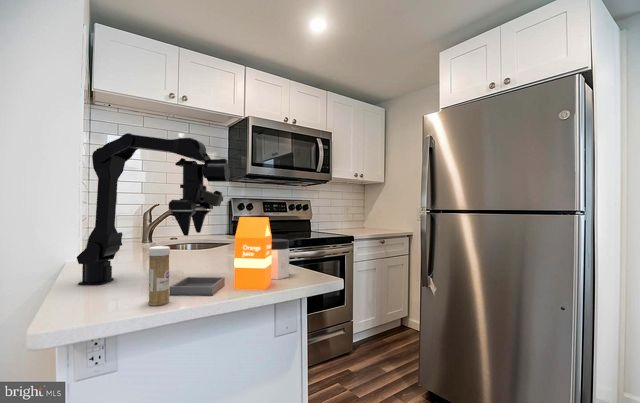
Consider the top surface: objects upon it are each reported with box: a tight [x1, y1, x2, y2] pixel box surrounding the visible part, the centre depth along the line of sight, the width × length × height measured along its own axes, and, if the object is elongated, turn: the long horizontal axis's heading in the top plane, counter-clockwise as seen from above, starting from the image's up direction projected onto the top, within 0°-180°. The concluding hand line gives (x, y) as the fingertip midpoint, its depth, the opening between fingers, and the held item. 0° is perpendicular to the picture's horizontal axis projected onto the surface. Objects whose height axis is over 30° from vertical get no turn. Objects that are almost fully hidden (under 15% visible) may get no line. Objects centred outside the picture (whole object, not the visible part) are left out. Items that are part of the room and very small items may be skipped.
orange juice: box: [233, 216, 273, 291], centre depth 93 cm, size 8×9×20 cm
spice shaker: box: [147, 245, 171, 307], centre depth 76 cm, size 5×5×14 cm
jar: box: [271, 238, 290, 280], centre depth 105 cm, size 9×8×12 cm
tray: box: [169, 276, 226, 297], centre depth 88 cm, size 11×11×2 cm
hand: (192, 234), depth 95 cm, fingers open, 9 cm apart
